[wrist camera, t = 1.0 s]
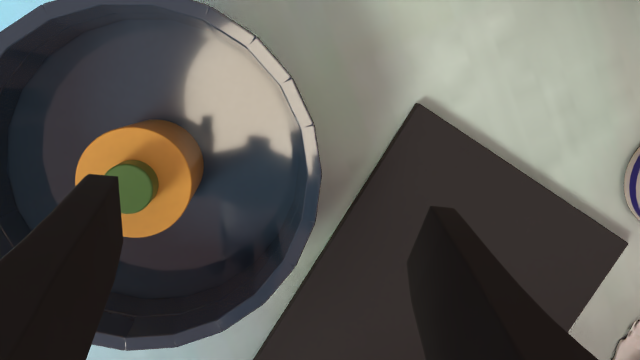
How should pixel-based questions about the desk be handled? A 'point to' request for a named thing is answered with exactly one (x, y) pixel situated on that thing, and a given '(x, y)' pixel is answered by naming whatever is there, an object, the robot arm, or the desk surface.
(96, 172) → the orange cylinder green stub
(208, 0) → the desk surface
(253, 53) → the pot
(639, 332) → the roast chicken plate
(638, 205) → the energy drink
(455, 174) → the mat
